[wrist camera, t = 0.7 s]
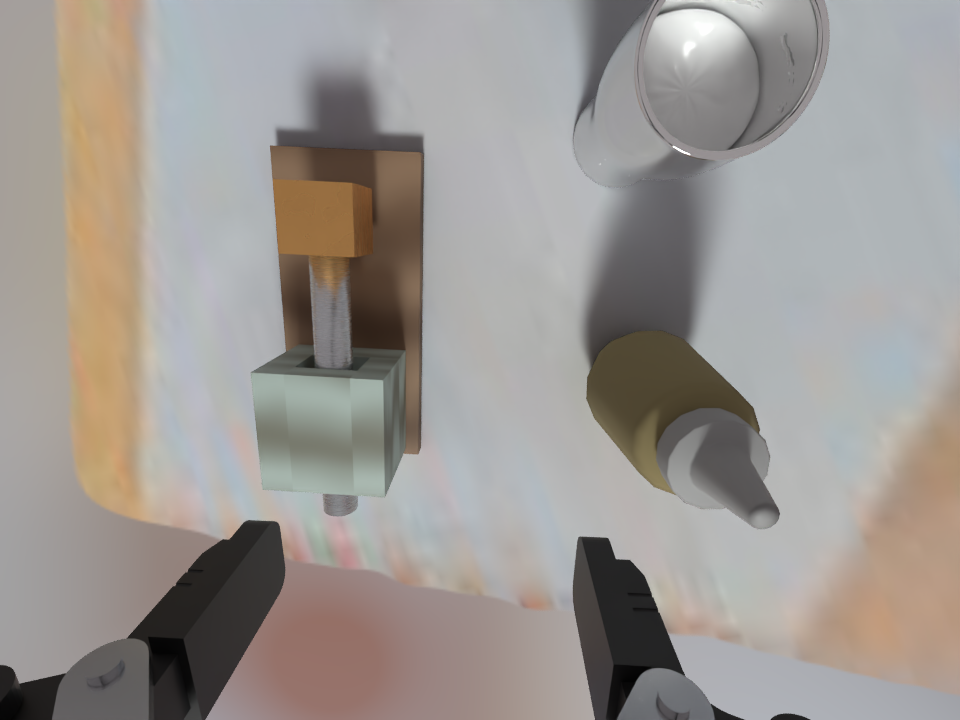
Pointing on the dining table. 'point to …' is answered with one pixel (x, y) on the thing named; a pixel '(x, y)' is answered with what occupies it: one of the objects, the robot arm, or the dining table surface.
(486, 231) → the dining table surface
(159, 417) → the dining table surface
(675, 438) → the squeeze bottle
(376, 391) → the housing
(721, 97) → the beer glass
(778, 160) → the dining table surface
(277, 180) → the shaft
